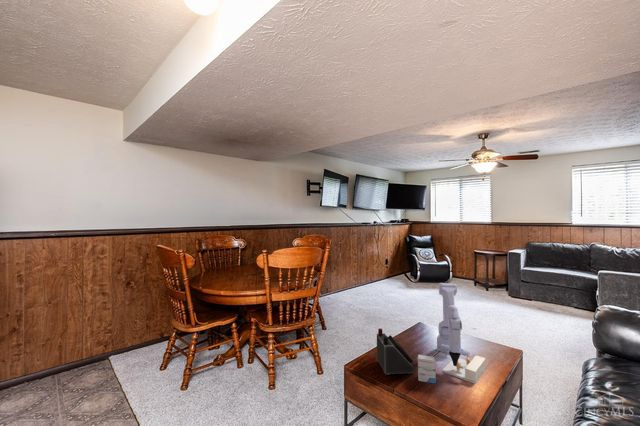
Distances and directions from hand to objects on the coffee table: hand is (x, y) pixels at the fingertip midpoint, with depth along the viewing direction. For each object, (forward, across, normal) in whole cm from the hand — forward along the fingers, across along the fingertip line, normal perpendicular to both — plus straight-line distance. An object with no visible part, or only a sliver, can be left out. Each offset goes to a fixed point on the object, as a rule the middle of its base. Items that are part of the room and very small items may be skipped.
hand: (455, 365), depth 155 cm
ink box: (+3, -8, -19) cm, 21 cm away
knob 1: (+2, +3, 0) cm, 3 cm away
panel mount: (+3, +3, +5) cm, 7 cm away
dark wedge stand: (+3, -26, -20) cm, 33 cm away
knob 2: (+2, +5, +9) cm, 10 cm away
